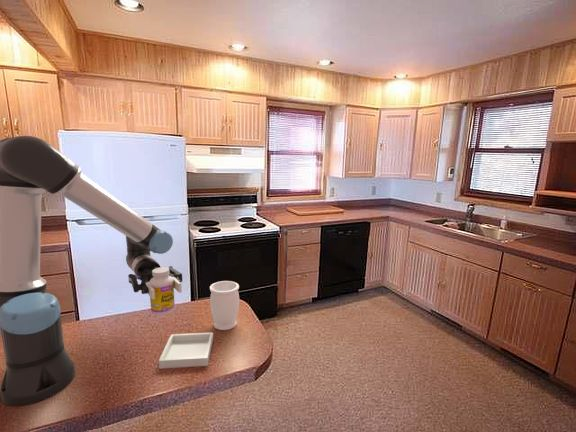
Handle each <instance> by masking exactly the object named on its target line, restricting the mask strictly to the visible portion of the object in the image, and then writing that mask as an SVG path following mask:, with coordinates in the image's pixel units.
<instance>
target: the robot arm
mask: <svg viewBox="0 0 576 432" xmlns="http://www.w3.org/2000/svg"><path fill="white" fill-rule="evenodd" d="M46 192H48V193H50V194H51V195H60V196H62V197H64V198H65V199H67V200H69V201H70V202H71V203H73V204H75V205H76V206H78V207H79V208H81V209H82V210H85V211H86V212H87V213H89V214H91V215H93V216H94V217H96V218H97V219H99V220H101V222H103V223H105V224H106V225H108V226H110V227H112V228H113V229H114V230H116V231H118V232H120V233H121V234H123V235H125V240H126V241H125V242H126V252H127V253H126V255H125V261H126V265H127V266H128V268H130V269H131V271H132V272H133V273H134V274H133V273H129V274H128V276H127V277H128V284H131V287H132V288H133V289H132V290H133V292H134V293H138V292H139V291H141V294H142V295H147V294H148V296H149V298H150V297H151V298H152V299H155V290H154V288H153V287H152V286H151V285H150V284H149V282H150V280H151V279H152V278H153V275H152V270H154V269H156V268H161V267H162V266H161V265H160V264H159V263H158V262H157V260H156V259H154V258H153V257H152V256H151V252H152V253H153V254H159V255H163V254H166V253H168V252H169V251H170V250H171V249H172V248H173V247H172V246H173V243H174V239H173V236H172V235H171V233H169V232H167V231H165V230H164V229H163V230H162V229H160V228H159V227H157V226H156V225H155V224H153V223H152V222H150V221H149V220H148V219H147V218H145V217H144V216H142V215H140V214H139V212H136V211H135V210H133V209H132V208H131V207H129V206H128V205H126V204H125V203H124V202H122V201H121V200H120V199H119V198H117V197H116V196H114V195H113V194H112V193H110V192H109V191H107V190H106V189H104V188H103V187H101V186H100V185H99V184H98V183H96V182H94V181H93V180H92V179H90V178H89V177H88V176H87V175H85V174H83V173H82V170H81V167H80V166H79V165H78V164H76V163H75V162H74V161H72V160H71V159H70V158H68V157H67V156H66V155H65V154H63V153H62V152H61V151H60V150H58V149H57V148H55V146H53V145H52V144H50V143H49V142H48V141H46V140H43V139H42V138H39V137H37V136H32V135H18V136H12V137H6V138H3V139H1V140H0V337H1V341H2V347H3V352H4V359H5V364H6V365H5V366H6V368H5V371H4V375H3V379H2V382H1V385H0V398H1V401H2V403H3V404H4V405H7V406H11V407H12V406H15V407H16V406H25V405H30V404H34V403H37V402H41V401H44V400H46V399H48V398H50V397H53V396H54V395H55V394H58V393H59V392H61V391H62V390H63V389H64V388H66V387H68V385H69V384H71V382H72V381H73V380H74V378H75V376H76V367H75V363H74V362H73V360H72V358H71V357H70V355H69V353H68V352H67V351H66V349H65V342H64V334H63V333H64V332H63V325H62V317H61V316H62V315H61V312H62V311H61V305H60V302H59V300H58V298H57V297H56V296H55V295H54V294H51V293H48V292H47V279H45V278H43V277H42V276H41V249H42V248H41V243H42V241H41V240H42V237H41V236H42V235H41V234H42V200H43V199H42V197H43V194H44V193H46ZM168 268H169V272H170V273H169V276H171V277H172V278H173V283H174V290H176V291H177V292H178V293H180V294H181V293H182V282H183V273H181V272H180V271H178V270H176V269H175V268H174V267H173V266H172V265H170V266H168ZM138 280H139V281H141V282H140V284H139V282H138Z"/></svg>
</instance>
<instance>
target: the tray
mask: <svg viewBox="0 0 576 432" xmlns="http://www.w3.org/2000/svg"><path fill="white" fill-rule="evenodd" d="M213 342H214V332H211V331H210V332H195V333H193V332H192V333H175V334H170V335H169V338H168V340H167V343H166V344H165V346H164V349H163V351H162V352H161V354H160V357H159V359H158V368H159V369H160V370H162V369H175V368H176V369H177V368H188V367H189V368H190V367H207V366H209V362H210V357H211V352H212V347H213Z"/></svg>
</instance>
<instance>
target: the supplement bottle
mask: <svg viewBox="0 0 576 432" xmlns="http://www.w3.org/2000/svg"><path fill="white" fill-rule="evenodd" d="M160 267H161V268H156V269H154V270H152V275H153V278H152V279H151V280H150V282H149V284H150V285H151V286H152V287H153V288H154V290H155V299H152V298H151V297H150V296H149V298H150V299H149V301H150V312H151V313H152V314H153V315H155V316H164V315H168V314H170V313H172V312H173V311H174V310H175V308H176V307H175V306H176V305H175V304H176V303H175V288H174V283H173V278H172V277H171V276H169V273H170V272H169V267H162V266H160Z"/></svg>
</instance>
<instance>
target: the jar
mask: <svg viewBox="0 0 576 432" xmlns="http://www.w3.org/2000/svg"><path fill="white" fill-rule="evenodd" d="M239 289H240V285H239V283H237V282H235V281H232V280H221V281H217V282H214V283H212V284H210V286H209V291H210V292H211V293H210V299H209V306H210V312H211V316H212V319H213V327H214V328H215V330H216V329H217V330H220V331H228V330H232V329H233V328H235V327H236V326H237V325H238V322H237V321H238V320H237V318H238V314H239V307H240V294H239Z"/></svg>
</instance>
